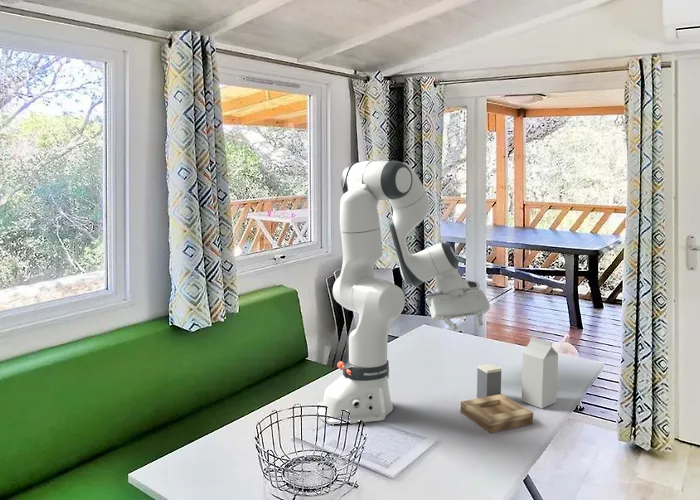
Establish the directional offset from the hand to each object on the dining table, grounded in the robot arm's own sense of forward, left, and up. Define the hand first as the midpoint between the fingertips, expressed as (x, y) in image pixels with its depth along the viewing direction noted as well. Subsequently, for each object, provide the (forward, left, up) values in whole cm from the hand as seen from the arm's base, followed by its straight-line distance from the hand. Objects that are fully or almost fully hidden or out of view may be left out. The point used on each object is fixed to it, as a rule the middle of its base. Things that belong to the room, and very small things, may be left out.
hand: (467, 327), depth 181 cm
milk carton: (+12, -21, -19) cm, 30 cm away
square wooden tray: (-6, -25, -19) cm, 31 cm away
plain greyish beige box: (0, -13, -19) cm, 23 cm away
